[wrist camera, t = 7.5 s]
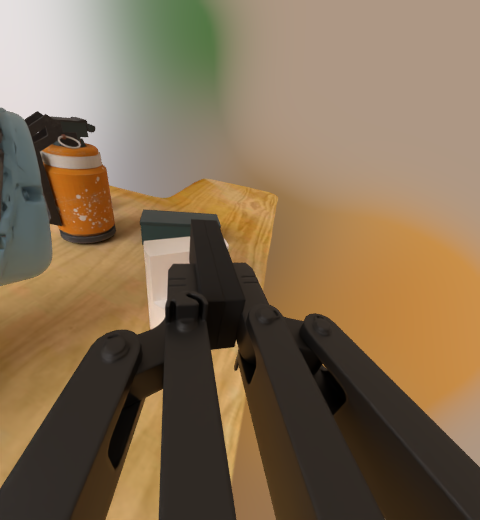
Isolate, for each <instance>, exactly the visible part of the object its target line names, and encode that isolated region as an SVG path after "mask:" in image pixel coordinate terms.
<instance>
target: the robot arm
mask: <svg viewBox="0 0 480 520" xmlns="http://www.w3.org/2000/svg"><path fill="white" fill-rule="evenodd" d="M42 193H43V188H42V184H41V175H40V170H39V165H38V161H37V157H36V153H35V148H34V145H33V141H32V137H31V134H30V131H29V129H28V126H27V124H26V122H25V121H24V119H23V118H22V117H21V116H19V115H17V114H15V113H13V112H8V111H6V110H4V109H3V108H0V286H3V285H7V284H10V283H14V282H18V281H22V280H26V279H30V278H33V277H36V276H38V275H40V274H42V273H43V272H44V271H45V270H46V269H47V268H48V266H49V265H50V263H51V260H52V241H51V232H50V225H49V218H48V213H47V207H46V202H45V199H44V197H43V195H42ZM189 263H190V264H172V266H171V267H170V269H169V270H168V287H167V301H166V305H165V318H164V320H163V321H162V322H161V323H160V324H159V325H158V326H157V327H155V328H153V329H151V330H149V331H146V332H143V333H141V334H138V335H137V334H135V333H134V332H132V331H128V330H115V331H112V332H109V333H106V334H105V335H103V336H102V337H100V338H98V339H97V340H96V341H95V343H94V344H93V345H92V346H91V347H90V349H89V350H88V352H87V353H86V355H85V357H84V358H83V360H82V361H81V363H80V364H79V366H78V368H77V369H76V371H75V372H74V374H73V375H72V377H71V379H70V380H69V382H68V383H67V385H66V386H65V388H64V390H63V391H62V393H61V394H60V396H59V397H58V399H57V401H56V402H55V404H54V405H53V407H52V408H51V410H50V412H49V413H48V415H47V416H46V418H45V419H44V421H43V422H42V424H41V426H40V427H39V429H38V430H37V432H36V433H35V435H34V437H33V438H32V440H31V441H30V443H29V444H28V446H27V448H26V449H25V451H24V452H23V454H22V455H21V457H20V459H19V460H18V462H17V463H16V465H15V466H14V468H13V470H12V471H11V473H10V474H9V476H8V477H7V479H6V481H5V482H4V484H3V485H2V487H1V488H0V520H105V519H106V516H107V513H108V510H109V507H110V504H111V501H112V498H113V495H114V492H115V489H116V486H117V483H118V480H119V477H120V474H121V471H122V468H123V465H124V462H125V459H126V456H127V453H128V450H129V446H130V443H131V440H132V437H133V434H134V431H135V428H136V425H137V422H138V419H139V416H140V413H141V410H142V407H143V404H144V401H145V398H146V397H148V396H150V395H152V394H154V393H156V392H158V391H160V390H162V389H163V411H162V440H161V469H160V498H159V520H236V514H235V507H234V501H233V494H232V487H231V481H230V474H229V468H228V461H227V454H226V448H225V441H224V434H223V428H222V421H221V415H220V408H219V401H218V395H217V388H216V382H215V375H214V368H213V362H212V355H211V350H213V349H221V348H230V347H234V346H235V342H236V340H237V344H238V348H239V350H238V354H237V357H236V361H235V365H234V369H235V371H236V370H237V369H238V366H239V368H240V372H241V377H242V381H243V385H244V389H245V393H246V397H247V401H248V405H249V409H250V413H251V417H252V422H253V426H254V430H255V434H256V438H257V442H258V446H259V451H260V455H261V459H262V463H263V467H264V471H265V475H266V479H267V483H268V488H269V491H270V496H271V500H272V504H273V508H274V512H275V516H276V520H385V519H386V520H480V467H479V466H478V465H477V464H476V463H475V462H474V461H473V460H472V459H471V458H470V457H469V456H468V455H467V454H466V453H465V452H464V451H463V450H462V449H461V448H460V447H459V446H458V445H457V444H456V443H455V442H454V441H453V440H452V439H451V438H450V437H449V436H448V435H447V434H446V433H445V432H444V431H443V430H442V429H440V427H439V426H438V425H437V424H436V423H435V422H434V421H433V420H432V419H431V418H430V417H429V416H428V415H427V414H425V412H424V411H423V410H422V409H421V408H420V407H419V406H418V405H417V404H416V403H415V402H414V401H412V399H411V398H410V397H408V395H407V394H405V393H404V392H403V391H402V390H401V389H400V388H399V387H398V386H397V385H396V384H395V383H394V382H393V381H392V380H391V379H390V378H389V377H388V376H387V375H386V374H385V373H384V372H383V371H382V370H381V369H380V368H379V367H378V366H377V365H376V364H375V363H374V362H373V361H372V360H371V359H370V358H369V357H368V356H367V355H366V354H365V353H364V352H363V351H362V350H361V349H360V348H359V347H358V346H357V345H356V344H355V343H354V342H353V341H352V340H351V339H350V338H349V337H348V336H347V335H346V334H345V333H344V332H343V331H342V330H341V329H340V328H339V327H338V326H337V325H336V324H335V323H334V322H333V321H331V320H330V319H329V318H328V317H325V316H323V315H320V314H309V315H308V316H306V318H305V320H304V321H299V320H295V319H290V318H286V317H283V316H282V314H281V313H280V312H279V310H277V309H276V308H275V307H273V306H271V305H269V303H268V301H267V299H266V297H265V295H264V293H263V290H262V288H261V286H260V284H259V283H258V280H257V278H256V275H255V273H254V271H253V269H252V268H251V267H250V266H249V265H248V264H246V263H232V260H231V258H230V255H229V252H228V249H227V247H226V244H225V241H224V238H223V235H222V233H221V230H220V227H219V224H218V222H217V220H198V219H191V230H190V251H189ZM322 364H324V366H325V367H326V368H325V367H324V366H323V365H322Z"/></svg>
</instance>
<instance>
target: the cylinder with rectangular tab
mask: <svg viewBox="0 0 480 520" xmlns="http://www.w3.org/2000/svg"><path fill="white" fill-rule="evenodd" d="M224 241H225V244H226V247H227V249H228V247H229V245H228V243H227V241H226V240H225V239H224ZM143 244H144V257H145V270H146V282H147V295H148V307H149V320H150V329H153V328H155V327H157V326H158V325H159V324H160V323H161V322H162V321H163V320H164V318H165V305H166V301H167V287H168V270H169V269H170V267H171V266H172V264H190V263H189V251H190V237H179V238H169V239H159V240H149V241H144V242H143Z"/></svg>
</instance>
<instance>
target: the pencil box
mask: <svg viewBox="0 0 480 520" xmlns="http://www.w3.org/2000/svg"><path fill="white" fill-rule="evenodd" d="M191 219H198V220H217V222H218V224H219V227H220V228H221V225H220V222H219V220H218V217H217V214H203V213H187V212H172V211H157V210H143V212H142V216H141V219H140V225H141V233H142V245H144V244H143V242H144V241H149V240H159V239H169V238H179V237H190V230H191Z"/></svg>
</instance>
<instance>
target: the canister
mask: <svg viewBox="0 0 480 520" xmlns="http://www.w3.org/2000/svg"><path fill="white" fill-rule="evenodd" d="M24 121H25V122H26V124H27V126H28V129H29V131H30V134H31V137H32V141H33V145H34V148H35V153H36V157H37V161H38V165H39V170H40V175H41V184H42V188H43V193H42V195H43V197H44V199H45V202H46V207H47V213H48V218H49V224H54V225H58V227H59V230H60V234H61V236H62V238H63V239H65V240H67V241H70V242H74V243H93V242H99V241H103V240H106V239H108V238H110V237H112V236H113V235H114V234H115V232H116V228H115V221H114V215H113V209H112V202H111V196H110V189H109V183H108V177H107V170H106V167H104V166H103V165H102V162H101V156H100V152H98V149H97V148H96V147H95V146H93V145H90V144H86V143H84V141H83V139H80V137H88V133H87V131H89V132H94V131H95V126H92V125H90V124H87V121H86V120H84V119H80V118H77V117H71V118H62V117H49V116H48V115H46V114H45V115H42V114H41V113H39V112H35V113H34V114H32V115H31V116H29V117H28V118H26V119H25V120H24ZM38 132H39V133H38ZM36 133H37V134H36Z"/></svg>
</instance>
